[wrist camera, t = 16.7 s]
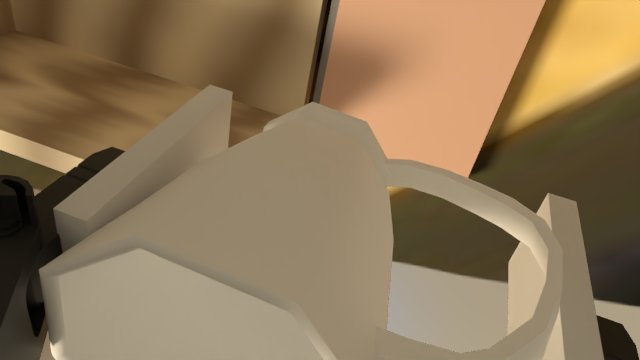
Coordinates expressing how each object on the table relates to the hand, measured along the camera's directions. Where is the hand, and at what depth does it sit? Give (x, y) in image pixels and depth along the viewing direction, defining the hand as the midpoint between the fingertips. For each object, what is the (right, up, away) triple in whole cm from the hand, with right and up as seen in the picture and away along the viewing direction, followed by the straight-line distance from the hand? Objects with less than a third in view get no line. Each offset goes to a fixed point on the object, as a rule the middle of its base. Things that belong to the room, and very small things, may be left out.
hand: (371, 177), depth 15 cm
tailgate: (-1, +7, +10) cm, 12 cm away
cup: (0, 0, 0) cm, 0 cm away
